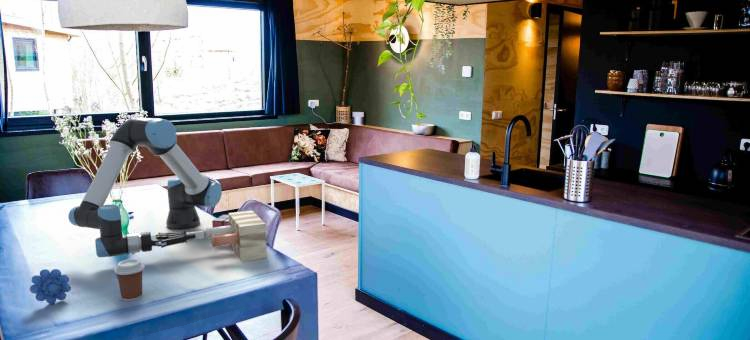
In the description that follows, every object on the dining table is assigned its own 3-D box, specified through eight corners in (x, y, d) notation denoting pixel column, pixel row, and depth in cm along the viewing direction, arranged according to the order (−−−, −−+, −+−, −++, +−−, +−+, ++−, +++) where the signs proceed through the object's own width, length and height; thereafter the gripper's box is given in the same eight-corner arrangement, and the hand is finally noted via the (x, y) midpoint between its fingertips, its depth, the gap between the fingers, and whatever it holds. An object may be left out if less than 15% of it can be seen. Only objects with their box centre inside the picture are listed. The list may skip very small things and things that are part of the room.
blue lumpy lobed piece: (36, 313, 171) (31, 276, 169) (30, 306, 176) (25, 271, 174) (76, 301, 180) (72, 266, 177) (69, 295, 184) (65, 261, 182)
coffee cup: (111, 301, 179) (107, 266, 177) (127, 290, 188) (124, 257, 186) (136, 303, 178) (133, 268, 176) (152, 292, 187) (149, 258, 185)
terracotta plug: (211, 245, 216) (211, 234, 216) (246, 240, 222) (246, 229, 221) (213, 249, 212) (213, 237, 211) (249, 244, 218) (249, 232, 217)
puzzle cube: (234, 244, 236) (233, 222, 234) (213, 243, 238) (211, 220, 236) (244, 237, 245) (243, 215, 243) (223, 236, 247) (222, 214, 245)
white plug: (206, 237, 227) (205, 226, 226) (240, 232, 233) (239, 222, 232) (208, 240, 223) (207, 229, 222) (242, 235, 229) (242, 224, 228)
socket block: (230, 244, 235) (228, 213, 232) (253, 241, 239) (252, 210, 236) (241, 261, 215) (239, 226, 213) (266, 257, 220) (265, 223, 217)
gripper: (140, 246, 220) (201, 238, 230) (142, 257, 209) (206, 247, 219) (138, 228, 219) (200, 221, 229) (140, 238, 207) (205, 229, 217)
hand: (203, 234), depth 224 cm, fingers closed
